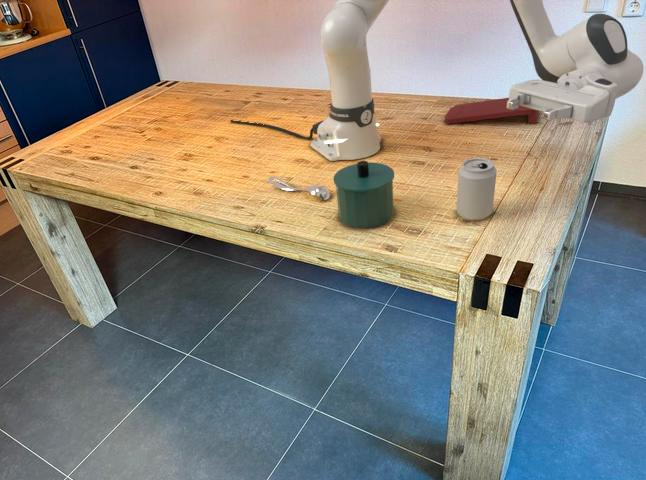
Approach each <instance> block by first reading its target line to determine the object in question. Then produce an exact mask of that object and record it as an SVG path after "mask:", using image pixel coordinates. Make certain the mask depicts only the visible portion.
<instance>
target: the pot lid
mask: <svg viewBox="0 0 646 480" xmlns="http://www.w3.org/2000/svg"><path fill="white" fill-rule="evenodd" d="M394 179H395V171H394V169H393V168H392V167H391V166H389V165H387V164H384V163H379V162H370V161H369V162H368V161H367V160H360V161H358V162H357V163H353V164H350V165H347V166H344V167H343V168H341V169H339V170H338V171H336V173H335V174H334V175H333V183H334V185H335V187H336V186H337V187H338V188H340V189H343V190H346V191H351V192H366V191H372V190H376V189H379V188H382V187H384V186H386V185H388V184H389V183H390V182H391V181H392V180H394Z"/></svg>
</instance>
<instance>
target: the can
mask: <svg viewBox="0 0 646 480" xmlns="http://www.w3.org/2000/svg"><path fill="white" fill-rule="evenodd" d="M497 171H498V170H497V168H496V167H495V162H494V161H492V160H491V159H488V158H486V157H485V158H484V157H473V158H469V159H466V160H463V162H462V164H461V167H460V168H459V169H458V173H457V175H458V176H457V189H456V190H457V191H456V197H457V198H456V208H455V209H456V210H455V211H456V213H457V215H459V216H460V217H461V218H463V219H464V220H468V221H482V220H485V219H486V218H488V217H489V216H491V215H492V214H493V212H494V211H493V209H494V202H495V191H496V181H497Z"/></svg>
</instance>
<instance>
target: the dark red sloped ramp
mask: <svg viewBox="0 0 646 480" xmlns="http://www.w3.org/2000/svg"><path fill="white" fill-rule="evenodd" d="M508 100H509V97H503V98H497V99H490V100H482V101H474V102H468V103H467V102H466V103H462V104H456V105H453V106H452V107H450V108H449V110H448V111H447V113H446V114H445V116H444V119H445V120H444V122H445V123H447V124H448V125H450V124H458V123H466V122H473V121H474V122H475V121H481V120H482V121H483V120H488V119H489V120H490V119H498V118H506V117H513V116H525V115H527V119H528V121H527V122H528V124H535V123H537V122H538V117H539V114H540V111H538V110H535V109H531V108H528V107H524V106H520V105H518V108H517V109H514V110H511V109H508V108H507V102H508Z"/></svg>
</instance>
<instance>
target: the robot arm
mask: <svg viewBox="0 0 646 480" xmlns="http://www.w3.org/2000/svg"><path fill="white" fill-rule="evenodd" d="M389 1H390V0H336V2H335V4H334V5H333V6H332V8H331V9H330V11H329V12H328V13H327V14H326V16H325V17H324V19H323V21H322V22H321V25H320V31H319V36H320V43H321V46H322V50H323V55H324V60H325V65H326V68H327V72H328V79H329V85H330V86H329V87H330V96H331V97H330V99H331V103H328V104H326V106H327V107H326V109H329V113H328V116H327V117H326V118H325V119H324V120H323V119H322V120H320V121H318V122H316V123H314V124H312V128H311V129H310V131H309V136H303V135H301V134H299V133H297V132H294V131H291V130H288V129H286V128H282V127H280V126H276V125H271V124H268V123H262V122H254V121H253V122H254V123H249V122H250V121H247V122H241V121H242V120H239V121H233V120H234V119H232V120H231V119H230V122H231V123H236V124H244V125H251V126H258V127H264V128H269V129H272V130H273V129H274V130H278V131H280V132H283V133H286V134H289V135H292V136H295V137H297V138H299V139H302V140H307V141H310V140H311V139H313V136H314V135H317V137H316V138H314V139H313V140H311V142H310V148H312V149H314V150H315V151H316V152H318V153H319V154H320V155H322V156H323V157H325V158H326V159H327V160H329V161H330V162H336V161H353V160H360V159H366V158H368V157H369V158H370V157H371V156H374V155H375V154H377V153H379V151H380V149H381V144H380V143H381V141H382V137H381V136H380V135H379V130H378V127H380V123H378V122H377V116H376V114H375V100H374V98H373V93H372V90H373V89H372V74H371V67H370V62H369V54H368V45H367V35H368V33H369V32H370V29H371V28H372V27H373V25H374V23H375V22H376V21H377V19H378V18H379V16H380V14H381V13H382V11H383V10H384V9H385V7H386V6H387V4H388V3H389ZM509 2H510V5H511V8H512V10H513V13H514V15H515V18H516V21H517V22H518V25H519V27H520V30H521V32H522V34H523V36H524V39H525V41H526V43H527V46H528V48H529V52H530V54H531V57H532V62H533V66H534V70H535V72H536V74H537V76H538V78H539V79H531V80H530V79H529V80H526V81H522V82H518V83H515V84H513V85H511V86H510V88H509V91H508V92H509V93H508V98H509V100H508V102H507V108H508V109H511V110H514V109H517V108H518V105H520V106H524V107H528V108H531V109H535V110H538V111H539V112H543V116H542V118H543V119H544V120H546V121H550V122H551V121H553V120H560V119H561V120H563V119H568V120H571V121H575V122H579V123H582V124H584V123H585V124H589V123H594V122H596V121H599V120H602V119H604V118H608V117H610V116H612V113H613V111H614V107H615V103H616V100H617V99H619V98H620V97H622V96H623V97H624V95H626V94H628V93H630V92H631V91H632V90H633V89H634V88H636V87H637V85H638V84H639V83H640V81H641V79H642V78H643V76H644V68H645V67H644V64H643V60H642V59H641V57H640V56H638V55H637V54H635V53H634V52H632V51H631V50H630V49H629V48H628V37H627V33H626V31H625V29H624V26H623V25H622V23H621V22H620V21H619V20H618V19H617V18H616V17H613V16H611V15H610V14H606V13H595V14H592V15H591V16H589V17H588V18H585V19H584V20H583V21H581V22H579V23H578V24H576V25H574V26H573V27H572V28H571V29H569V30H567V31H566V32H564V33H562V34H561V35H557V34H556V33H555V31H554V28H553V26H552V24H551V21H550V19H549V16H548V13H547V11H546V9H545V6H544V2H543V0H509ZM257 123H258V124H257ZM263 124H264V125H263Z"/></svg>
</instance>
